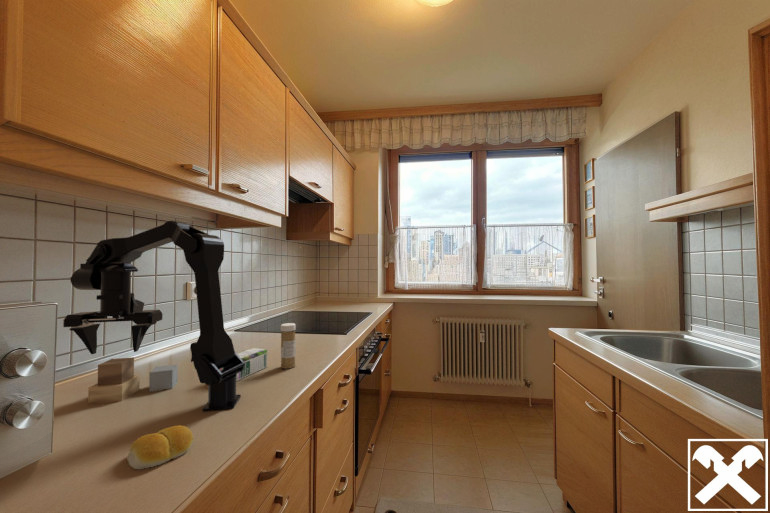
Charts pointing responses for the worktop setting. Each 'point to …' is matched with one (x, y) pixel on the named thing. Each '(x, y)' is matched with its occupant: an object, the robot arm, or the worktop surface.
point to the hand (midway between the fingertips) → (115, 352)
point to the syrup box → (252, 362)
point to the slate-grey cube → (163, 377)
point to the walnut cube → (115, 371)
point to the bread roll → (159, 447)
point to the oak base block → (113, 391)
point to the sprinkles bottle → (288, 345)
